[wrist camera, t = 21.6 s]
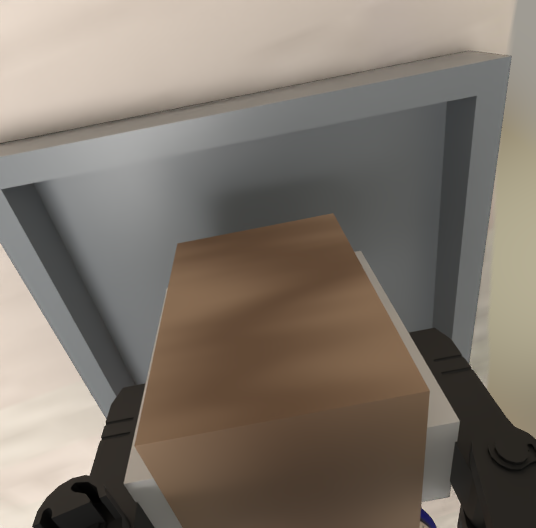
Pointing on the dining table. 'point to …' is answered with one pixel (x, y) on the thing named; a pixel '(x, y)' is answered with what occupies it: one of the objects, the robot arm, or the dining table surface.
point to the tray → (259, 199)
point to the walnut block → (282, 388)
